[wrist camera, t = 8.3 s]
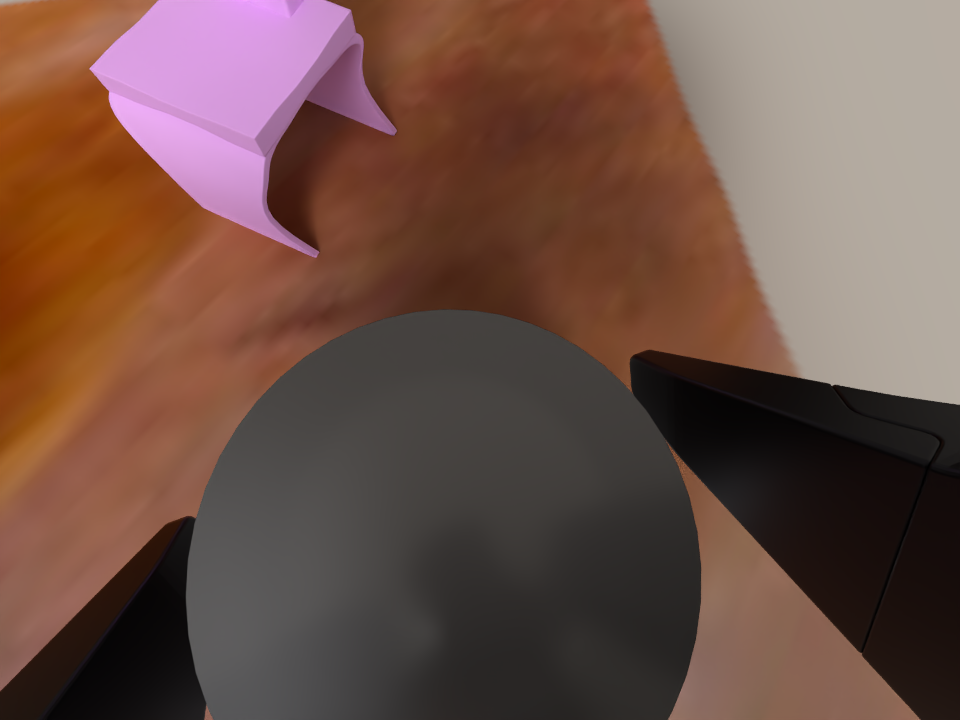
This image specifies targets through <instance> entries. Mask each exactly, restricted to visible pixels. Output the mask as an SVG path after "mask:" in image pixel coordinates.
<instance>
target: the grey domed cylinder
mask: <svg viewBox="0 0 960 720" xmlns="http://www.w3.org/2000/svg"><path fill="white" fill-rule="evenodd" d="M700 604H701V561H700V552H699V543H698V534H697V528H696V524H695V520H694V515H693V511H692V507H691V502H690V498H689V495H688V492H687V489H686V487H685V484H684V481H683V478H682V475H681V473H680V470H679V467H678V465H677V463H676V461H675V459H674V457H673V455H672V453H671V451H670V449H669V447H668V445H667V443H666V441H665V439H664V437H663V435H662V434H661V432H660V431H659V429H658V428H657V426H656V425H655V423H654V421H653V420H652V418H651V417H650V415H649V414H648V412H647V411H646V410H645V408H644V407H643V406H642V405H641V404H640V402H639V401H638V400H637V399H636V398H635V396H634V395H633V394H632V393H631V392H630V390H629V389H628V388H627V387H626V386H625V385H624V384H623V383H622V382H621V381H620V380H619V379H618V378H617V377H616V376H615V375H614V374H612V373H611V372H610V371H609V370H608V369H607V368H606V367H605V366H604V365H602V364H601V363H600V362H598V361H597V360H596V359H594V358H593V357H592V356H590V355H589V354H588V353H586V352H585V351H584V350H582V349H581V348H579V347H577V346H576V345H574V344H572V343H570V342H569V341H567V340H565V339H563V338H562V337H560V336H558V335H556V334H554V333H552V332H550V331H547V330H545V329H542V328H540V327H538V326H535V325H533V324H530V323H528V322H524V321H521V320H517V319H514V318H510V317H507V316H503V315H499V314H492V313H486V312H479V311H473V310H445V309H443V310H432V311H421V312H412V313H408V314H403V315H398V316H394V317H389V318H385V319H382V320H379V321H376V322H373V323H370V324H367V325H364V326H362V327H359V328H356V329H354V330H352V331H350V332H348V333H346V334H344V335H342V336H340V337H338V338H336V339H333V340H331V341H330V342H328V343H326V344H325V345H323V346H322V347H320V348H319V349H317V350H315V351H314V352H312V353H311V354H309V355H308V356H306V357H304V358H303V359H302V360H301V361H300V362H298V363H297V364H296V365H295V366H293V367H292V368H291V369H290V370H289V371H287V372H286V373H285V374H284V375H282V376H281V377H280V378H279V379H278V380H277V381H276V382H275V383H274V384H273V385H272V386H271V387H270V388H269V389H268V390H267V391H266V392H265V393H264V395H263V396H262V397H261V398H260V399H259V400H258V401H257V402H256V403H255V405H254V406H253V407H252V408H251V410H250V411H249V412H248V414H247V415H246V416H245V418H244V419H243V420H242V422H241V423H240V424H239V426H238V427H237V428H236V430H235V432H234V433H233V435H232V437H231V438H230V440H229V442H228V443H227V445H226V447H225V449H224V450H223V452H222V454H221V455H220V457H219V459H218V461H217V464H216V466H215V468H214V470H213V473H212V475H211V477H210V479H209V482H208V484H207V486H206V488H205V491H204V495H203V498H202V501H201V504H200V508H199V511H198V514H197V517H196V521H195V524H194V530H193V535H192V541H191V546H190V552H189V557H188V569H187V586H186V606H187V621H188V635H189V640H190V645H191V650H192V655H193V660H194V665H195V670H196V674H197V677H198V680H199V683H200V686H201V689H202V692H203V695H204V698H205V701H206V704H207V706H208V709H209V712H210V714H211V716H212V717H213V719H214V720H668V718H669V716H670V714H671V713H672V711H673V708H674V706H675V703H676V701H677V698H678V696H679V693H680V691H681V688H682V686H683V683H684V681H685V678H686V675H687V672H688V668H689V664H690V660H691V656H692V652H693V648H694V645H695V641H696V635H697V627H698V619H699V612H700Z"/></svg>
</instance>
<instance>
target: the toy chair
mask: <svg viewBox="0 0 960 720" xmlns="http://www.w3.org/2000/svg"><path fill="white" fill-rule="evenodd" d="M363 49H364V42H363V38H362V36H361V35H360V34H358V33H356V30H355V25H354V21H353V16H352V12H351V10H350V9H347V8H345V7H342V6H340V5H337V4H335V3H332V2H329V1H327V0H158V1H157V2H156V3H155V4H154V5H153V7H152V8H151V9H150V10H149V11H148V12H147V13H146V14H145V15H144V16H143V17H142V18H141V19H140V20H139V21H138V22H137V23H136V24H135V25H134V26H133V27H131V28H130V29H129V30H128V31H127V32H126V33H125V34H123V35H122V36H121V37H120V38H119V39H118V40H116V41H115V42H114V43H113V44H112V45H111V46H110V47H109V48H108V49H107V50H106V52H105V53H104V54H103V55H102V56H101V57H100V58H99V59H98V60H97V61H96V62H95V63H94V64H93V65H92V66H91V67H90V70H91V71H92V72H93V73H94V74H95V76H96V77H97V78H98V79H99V80H100V81H101V83H102V84H103V85H104V86H105V87H106V88H107V90H109V101H110V105H111V108H112V110H113V112H114V114H115V115H116V117H117V118H118V120H119V121H120V122H121V124H122V125H123V126H124V128H125V129H126V130H127V131H128V132H129V133H130V135H131V136H132V137H133V138H134V139H135V140H136V141H137V142H138V143H139V145H140V146H141V147H142V148H143V149H144V150H145V151H146V152H147V153H148V154H149V155H150V156H151V157H152V158H153V159H154V160H155V161H156V162H157V163H158V164H159V165H160V166H161V167H162V168H163V169H164V170H165V171H166V172H167V173H168V174H169V175H170V176H171V177H172V178H173V179H174V180H175V181H176V182H177V183H178V184H179V185H180V186H181V187H182V188H183V189H184V190H185V191H186V192H187V193H188V194H189V195H190V196H191V197H192V198H193V199H194V200H195V201H196V202H197V203H199V204H200V205H201V206H202V207H203V208H205V209H207V210H209V211H211V212H213V213H215V214H218V215H220V216H222V217H224V218H227V219H229V220H231V221H233V222H236V223H238V224H240V225H242V226H245V227H247V228H249V229H251V230H254V231H256V232H258V233H260V234H263V235H265V236H267V237H269V238H272V239H274V240H276V241H278V242H281V243H283V244H285V245H287V246H290V247H292V248H294V249H296V250H299V251H301V252H303V253H305V254H308V255H310V256H312V257H315V258H316V257H317V255H318V254H319V251H317V250H316V249H314V248H313V247H311V246H309V245H308V244H306V243H305V242H303V241H301V240H300V239H298V238H297V237H295V236H294V235H293V234H291V233H290V232H289V231H287V230H286V229H285V228H283V227H282V226H281V225H280V224H279V223H278V222H277V221H276V220H275V219H274V218H273V216H272V215H271V213H270V211H269V209H268V205H267V190H268V183H269V170H270V163H271V158H272V155H273V153H274V150H275V148H276V146H277V144H278V142H279V140H280V139H281V137H282V136H283V134H284V133H285V131H286V130H287V128H288V127H289V125H290V123H291V122H292V120H293V118H294V117H295V115H296V114H297V112H298V110H299V109H300V107H301V105H302V104H303V102H304V101H305V100H307V101H310V102H312V103H315V104H317V105H320V106H322V107H324V108H327V109H329V110H332V111H334V112H336V113H339V114H341V115H344V116H346V117H349V118H351V119H353V120H356V121H358V122H361V123H363V124H365V125H368V126H370V127H373V128H375V129H378V130H380V131H382V132H385V133H387V134H390V135H393V136H394V135H395V133H396V132H397V130H396V128H395V127H394V126H393V125H392V123H391V122H390V121H389V120H388V118H387V117H386V116H385V115H384V113H383V112H382V111H381V109H380V108H379V107H378V105H377V104H376V102H375V101H374V99H373V98H372V96H371V94H370V92H369V90H368V89H367V87H366V85H365V81H364V77H363V70H362V59H363Z"/></svg>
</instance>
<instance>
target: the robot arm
mask: <svg viewBox="0 0 960 720" xmlns="http://www.w3.org/2000/svg"><path fill="white" fill-rule="evenodd" d="M630 374H631V387H632V392H633V395H634V396H635V398H636V399H637V400H638V401H639V402H640V404H641V405H642V406H643V407H644V408H645V410H646V411H647V412H648V414H649V415H650V417H651V418H652V420H653V421H654V423H655V425H656V426H657V428H658V429H659V431H660V432H661V434H662V435H663V437H664V438H665V440H666V441H667V442H668V444H669V445H670V446H671V448H672V449H673V450H674V451H675V453H676V454H677V455H678V456H679V457H680V458H681V459H682V461H683V462H684V463H685V464H686V465H687V466H688V467H689V468H690V469H691V470H692V471H693V472H694V474H695V475H696V476H697V477H698V478H699V479H700V480H701V481H702V482H703V483H704V484H705V485H706V487H707V488H708V489H709V490H710V491H711V492H712V493H713V494H714V495H715V496H716V497H717V499H718V500H719V501H720V502H721V503H722V504H723V505H724V506H725V507H726V508H727V509H728V510H729V512H730V513H731V514H732V515H733V516H734V517H735V518H736V519H737V520H738V521H739V522H740V523H741V525H742V526H743V527H744V528H745V529H746V530H747V531H748V532H749V533H750V534H751V535H752V536H753V538H754V539H755V540H756V541H757V542H758V543H759V544H760V545H761V546H762V547H763V548H764V550H765V551H766V552H767V553H768V554H769V555H770V556H771V557H772V558H773V559H774V560H775V561H776V563H777V564H778V565H779V566H780V567H781V568H782V569H783V570H784V571H785V572H786V573H787V574H788V576H789V577H790V578H791V579H792V580H793V581H794V582H795V583H796V584H797V585H798V586H799V588H800V589H801V590H802V591H803V592H804V593H805V594H806V595H807V596H808V597H809V598H810V599H811V601H812V602H813V603H814V604H815V605H816V606H817V607H818V608H819V609H820V610H821V611H822V612H823V614H824V615H825V616H826V617H827V618H828V619H829V620H830V621H831V622H832V623H833V624H834V626H835V627H836V628H837V629H838V630H839V631H840V632H841V633H842V634H843V635H844V636H845V637H846V639H847V640H848V641H849V642H850V643H851V644H852V645H853V646H854V647H855V648H856V649H857V650H858V651H859V652H860V653H862V656H863V657H864V659H865V660H866V661H867V662H868V663H869V664H870V665H871V666H872V667H873V668H874V669H875V671H876V672H877V673H878V674H879V675H880V676H881V677H882V678H883V679H884V680H885V681H886V682H887V684H888V685H889V686H890V687H891V688H892V689H893V690H894V691H895V692H896V693H897V694H898V695H899V697H900V698H901V699H902V700H903V701H904V702H905V703H906V704H907V705H908V706H909V707H910V708H911V710H912V711H913V712H914V713H915V714H916V715H917V716H918V717H919V718H920V719H921V720H960V405H956V404H949V403H942V402H935V401H928V400H922V399H914V398H908V397H901V396H895V395H889V394H883V393H878V392H872V391H866V390H860V389H855V388H850V387H845V386H839V385H833V386H831V385H830V384H828V383H823V382H818V381H813V380H807V379H802V378H797V377H791V376H786V375H781V374H775V373H770V372H765V371H760V370H754V369H749V368H744V367H738V366H733V365H728V364H723V363H717V362H712V361H707V360H701V359H696V358H691V357H686V356H680V355H675V354H670V353H664V352H659V351H654V350H646V351H643V352H641V353H638V354H635V355H633V356H632V357H631V359H630ZM195 521H196V518H194V517H192V516H186V517H183V518H180V519H178V520H175V521H172V522H169V523H168V524H166V525H165V526H164V527H163V528H162V529H161V530H160V531H159V532H158V533H157V534H156V535H155V536H154V537H153V538H152V539H151V540H150V541H149V542H148V543H147V544H146V545H145V546H144V547H143V548H142V549H141V550H140V551H139V552H138V553H137V554H136V555H135V556H134V557H133V558H132V559H131V560H130V561H129V562H128V563H127V564H126V565H125V566H124V567H123V568H122V569H121V570H120V571H119V572H118V573H117V574H116V575H115V576H114V577H113V578H112V579H111V580H110V581H109V582H108V583H107V584H106V585H105V586H104V587H103V588H102V589H101V590H100V591H99V592H98V593H97V594H96V595H95V596H94V597H93V598H92V599H91V600H90V601H89V602H88V603H87V604H86V605H85V606H84V607H83V608H82V609H81V610H80V611H79V612H78V613H77V614H76V616H75V617H74V618H73V619H72V620H71V621H70V622H69V623H68V624H67V625H66V626H65V627H64V628H63V629H62V630H61V631H60V632H59V633H58V634H57V635H56V636H55V637H54V638H53V639H52V640H51V641H50V642H49V643H48V644H47V645H46V646H45V647H44V648H43V649H42V650H41V651H40V652H39V653H38V654H37V655H36V656H35V657H34V658H33V659H32V660H31V661H30V662H29V663H28V664H27V665H26V666H25V667H24V668H23V669H22V670H21V671H20V672H19V673H18V674H17V675H16V676H15V677H14V678H13V679H12V680H11V681H10V682H9V683H8V684H7V685H6V686H5V687H4V688H3V689H2V690H1V691H0V720H204V718H205V711H206V701H205V698H204V695H203V692H202V689H201V686H200V683H199V680H198V677H197V674H196V670H195V665H194V660H193V655H192V650H191V645H190V640H189V635H188V621H187V606H186V586H187V569H188V557H189V552H190V546H191V541H192V535H193V530H194V524H195Z"/></svg>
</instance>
